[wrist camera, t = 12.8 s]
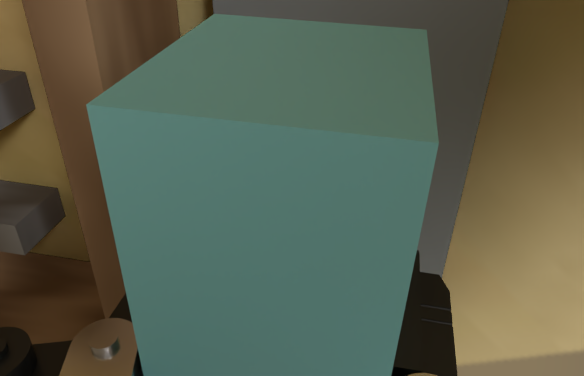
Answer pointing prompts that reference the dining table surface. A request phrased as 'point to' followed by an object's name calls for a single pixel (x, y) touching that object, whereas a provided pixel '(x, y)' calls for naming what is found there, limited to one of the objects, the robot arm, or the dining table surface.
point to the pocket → (71, 160)
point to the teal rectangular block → (270, 195)
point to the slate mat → (445, 78)
